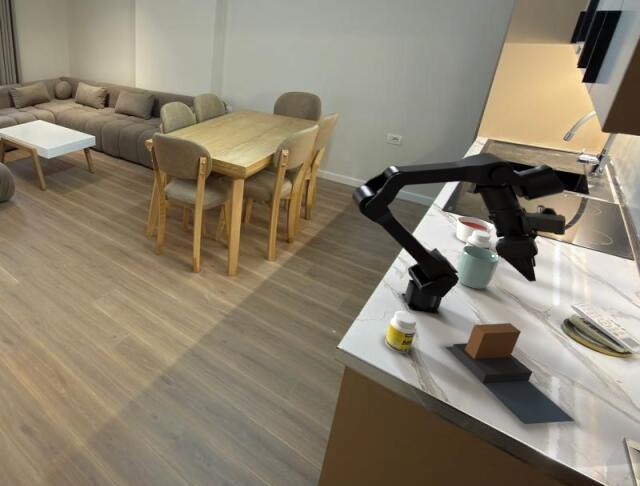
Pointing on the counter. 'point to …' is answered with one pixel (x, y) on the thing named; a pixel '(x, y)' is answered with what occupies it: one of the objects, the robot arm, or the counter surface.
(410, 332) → the supplement bottle
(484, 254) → the cup
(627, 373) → the counter surface
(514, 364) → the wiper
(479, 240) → the pill bottle
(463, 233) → the candle
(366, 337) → the counter surface
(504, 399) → the mat
